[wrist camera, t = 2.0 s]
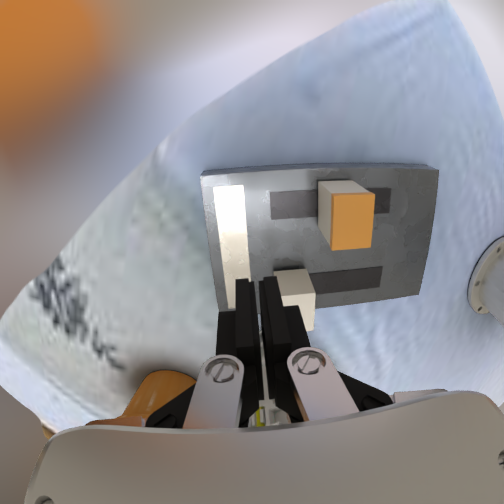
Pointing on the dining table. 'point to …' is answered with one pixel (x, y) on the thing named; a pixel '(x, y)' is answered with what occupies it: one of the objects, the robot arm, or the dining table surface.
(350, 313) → the dining table surface
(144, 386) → the flower pot
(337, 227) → the lever
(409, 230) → the slotted slider board
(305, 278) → the on lever
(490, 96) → the dining table surface
